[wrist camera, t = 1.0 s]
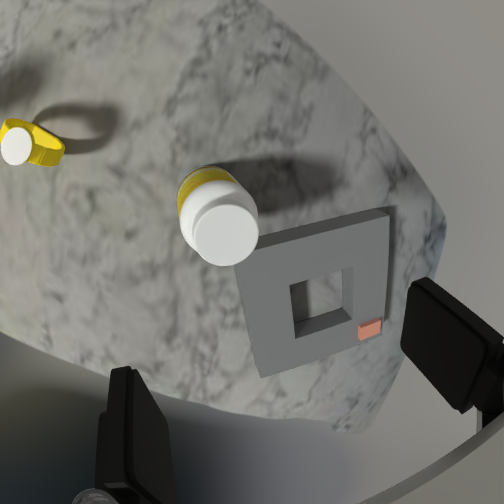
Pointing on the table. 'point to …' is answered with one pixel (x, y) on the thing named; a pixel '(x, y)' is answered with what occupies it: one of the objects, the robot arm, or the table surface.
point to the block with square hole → (307, 267)
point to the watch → (29, 144)
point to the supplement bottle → (217, 216)
